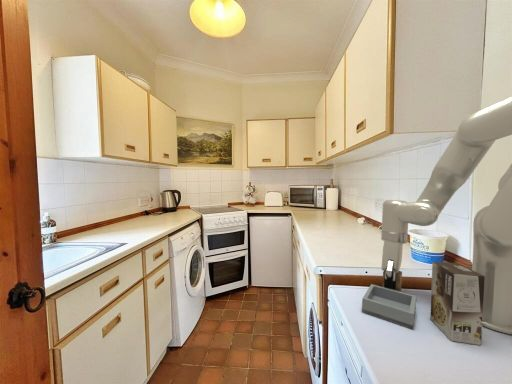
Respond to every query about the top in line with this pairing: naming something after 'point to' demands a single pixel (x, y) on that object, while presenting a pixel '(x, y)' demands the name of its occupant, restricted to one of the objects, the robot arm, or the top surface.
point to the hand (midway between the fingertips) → (391, 286)
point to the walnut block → (397, 279)
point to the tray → (390, 305)
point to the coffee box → (457, 302)
